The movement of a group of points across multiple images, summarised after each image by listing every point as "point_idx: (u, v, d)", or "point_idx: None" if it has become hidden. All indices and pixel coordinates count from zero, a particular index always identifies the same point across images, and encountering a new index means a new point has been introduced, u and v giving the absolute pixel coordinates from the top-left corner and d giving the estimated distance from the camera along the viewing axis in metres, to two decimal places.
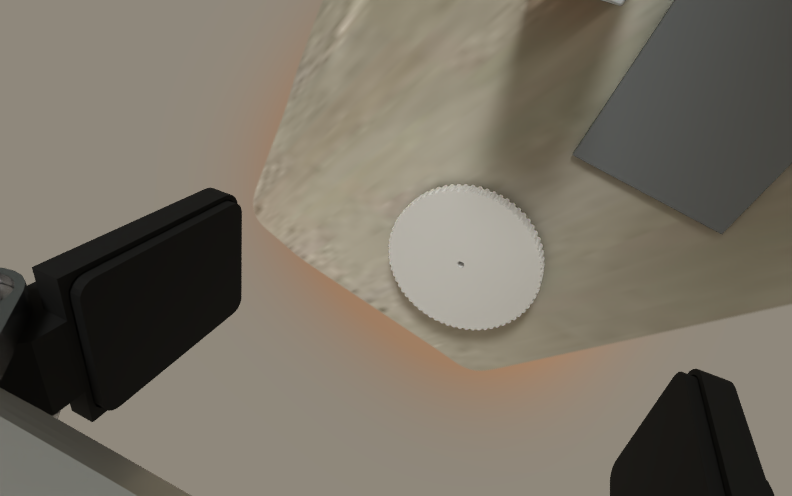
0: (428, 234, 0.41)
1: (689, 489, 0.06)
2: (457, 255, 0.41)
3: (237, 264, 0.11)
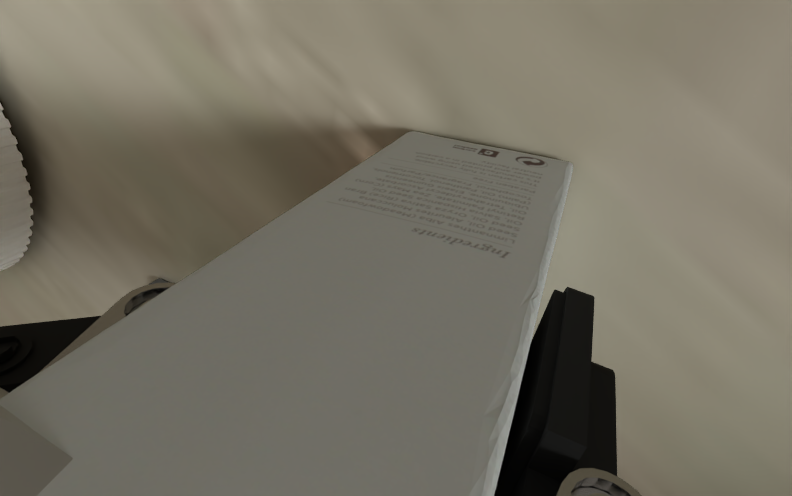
0: None
1: (536, 368, 0.08)
2: None
3: None
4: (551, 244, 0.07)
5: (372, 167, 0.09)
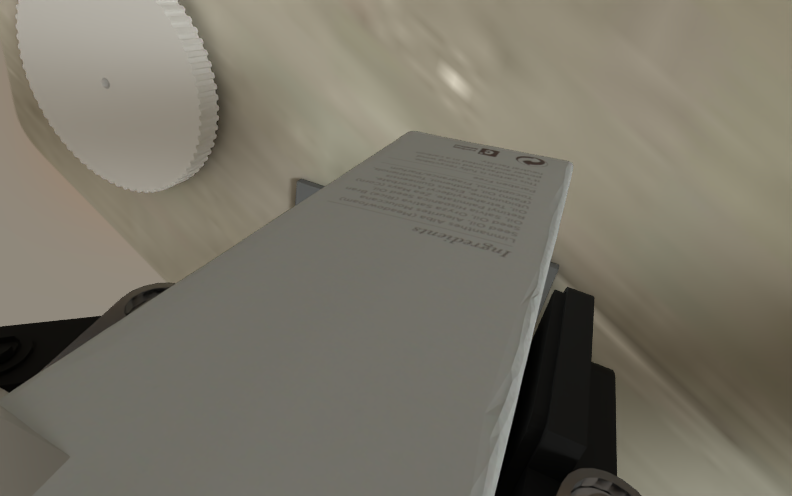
0: (110, 18, 0.26)
1: (536, 368, 0.08)
2: (112, 74, 0.28)
3: None
4: (551, 243, 0.07)
5: (372, 167, 0.09)
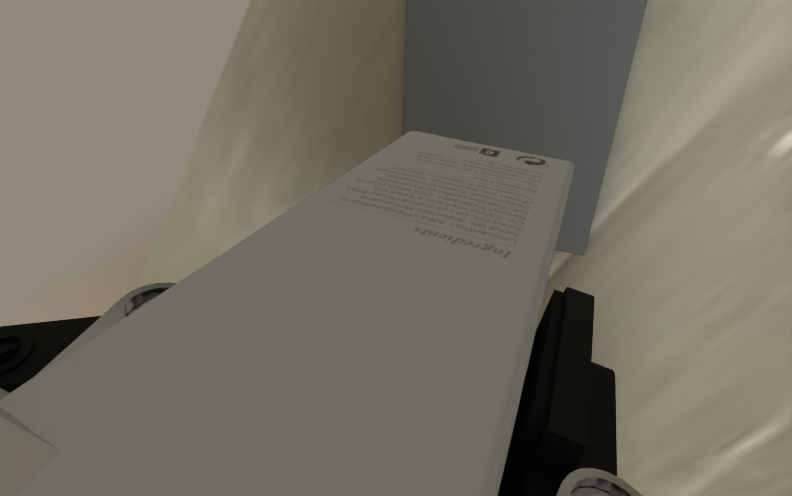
0: None
1: (536, 368, 0.08)
2: None
3: None
4: (553, 244, 0.07)
5: (373, 167, 0.09)
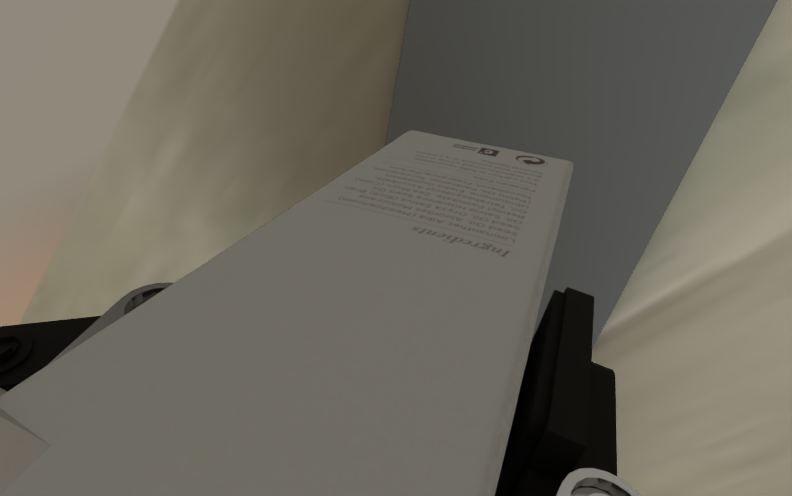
0: None
1: (536, 368, 0.08)
2: None
3: None
4: (552, 243, 0.07)
5: (372, 166, 0.09)
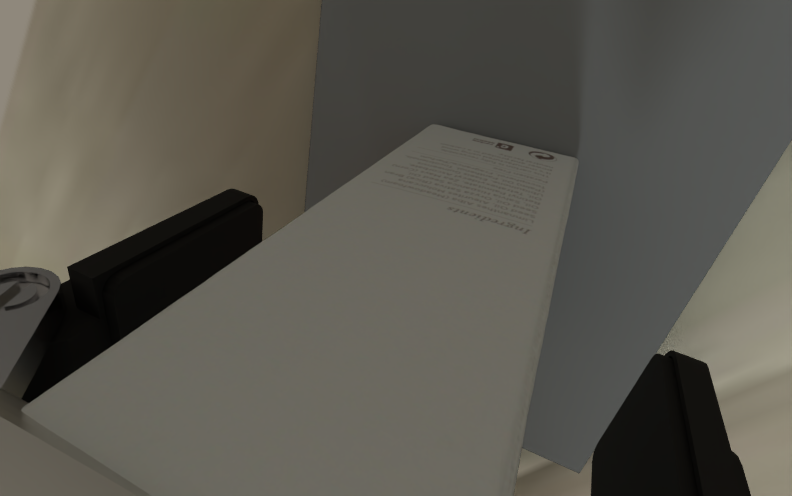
0: None
1: (660, 461, 0.07)
2: None
3: None
4: (563, 225, 0.08)
5: (404, 154, 0.10)
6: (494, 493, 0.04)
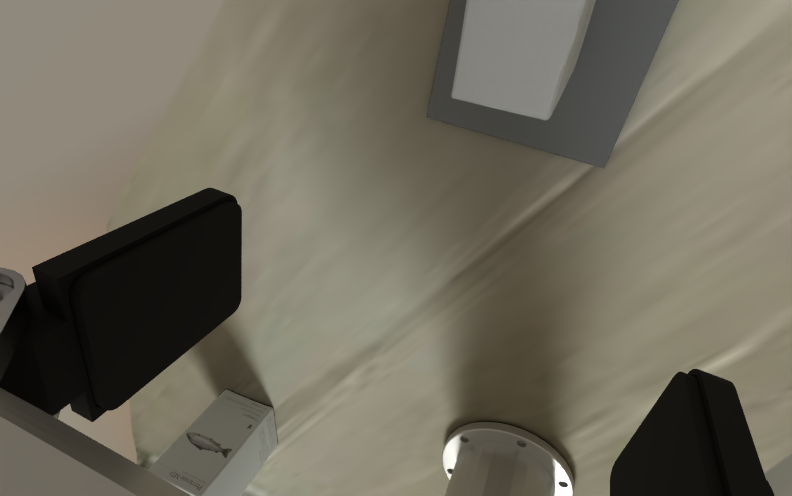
0: None
1: (689, 489, 0.06)
2: None
3: (237, 264, 0.11)
4: None
5: None
6: None
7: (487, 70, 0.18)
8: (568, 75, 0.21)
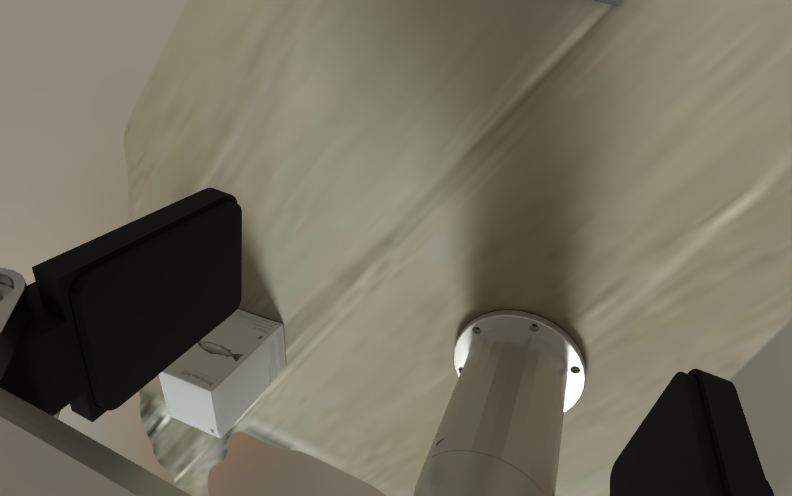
0: None
1: (689, 489, 0.06)
2: None
3: (237, 264, 0.11)
4: None
5: None
6: None
7: None
8: None
